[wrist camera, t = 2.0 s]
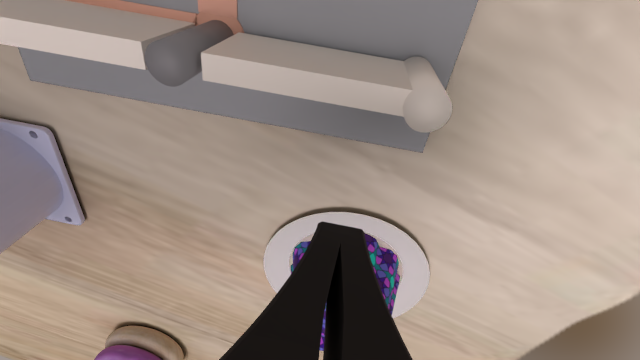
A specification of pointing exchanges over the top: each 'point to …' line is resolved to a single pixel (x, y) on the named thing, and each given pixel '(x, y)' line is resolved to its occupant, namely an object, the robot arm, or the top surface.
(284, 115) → the card
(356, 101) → the fence gate
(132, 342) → the stacking toy
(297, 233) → the pudding
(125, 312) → the top surface
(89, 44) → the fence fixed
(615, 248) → the top surface
